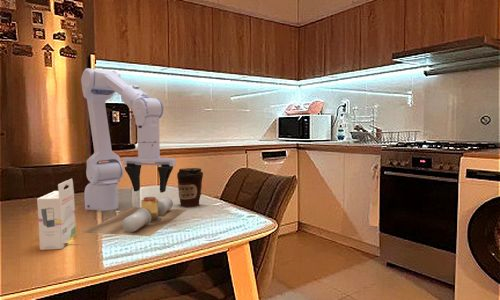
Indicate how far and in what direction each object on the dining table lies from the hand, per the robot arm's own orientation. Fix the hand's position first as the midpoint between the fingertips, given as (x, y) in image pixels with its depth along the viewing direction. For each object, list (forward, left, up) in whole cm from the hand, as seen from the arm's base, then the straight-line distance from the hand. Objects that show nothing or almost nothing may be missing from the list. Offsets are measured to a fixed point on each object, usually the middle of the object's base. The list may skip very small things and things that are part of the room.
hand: (149, 191), depth 100 cm
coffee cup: (+5, +19, -9) cm, 22 cm away
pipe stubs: (0, 0, -9) cm, 9 cm away
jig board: (-3, 0, -9) cm, 10 cm away
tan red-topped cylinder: (0, 0, -8) cm, 8 cm away
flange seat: (0, 0, -8) cm, 8 cm away
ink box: (-14, -19, -9) cm, 25 cm away
